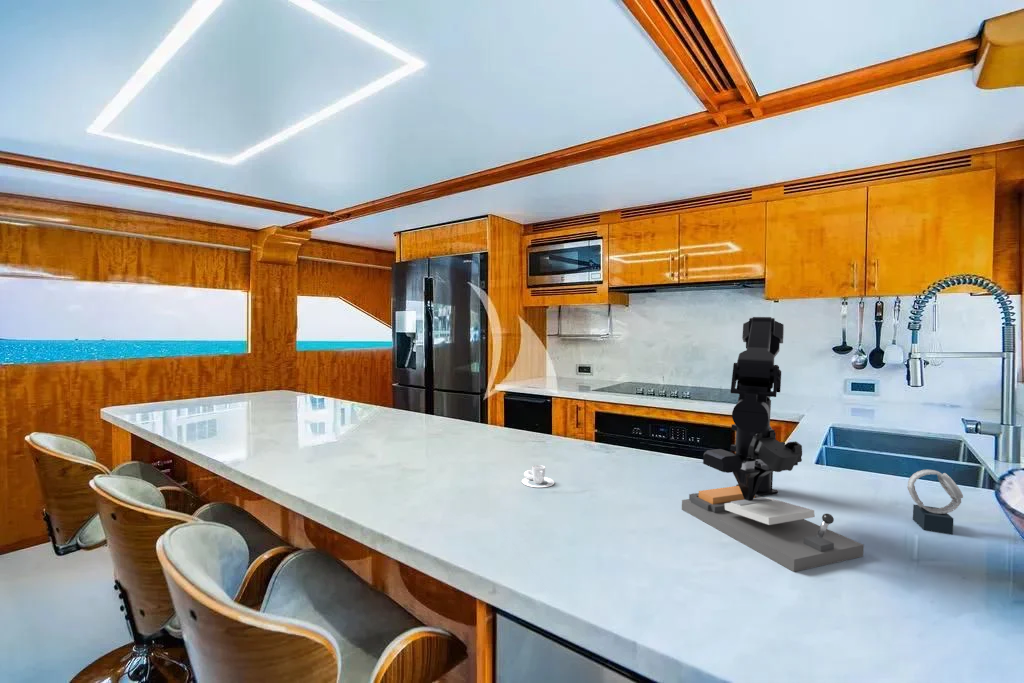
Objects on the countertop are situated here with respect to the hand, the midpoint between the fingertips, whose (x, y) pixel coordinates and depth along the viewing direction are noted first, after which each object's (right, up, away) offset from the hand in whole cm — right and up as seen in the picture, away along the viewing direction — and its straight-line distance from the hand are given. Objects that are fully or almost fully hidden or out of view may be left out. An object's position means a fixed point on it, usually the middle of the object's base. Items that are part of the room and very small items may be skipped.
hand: (748, 500), depth 92 cm
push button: (-2, -2, +5) cm, 6 cm away
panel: (+1, -5, -3) cm, 6 cm away
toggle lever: (+5, -2, -14) cm, 15 cm away
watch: (+36, -5, 0) cm, 37 cm away
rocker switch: (+2, 0, -4) cm, 5 cm away
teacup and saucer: (-38, -3, +24) cm, 45 cm away
